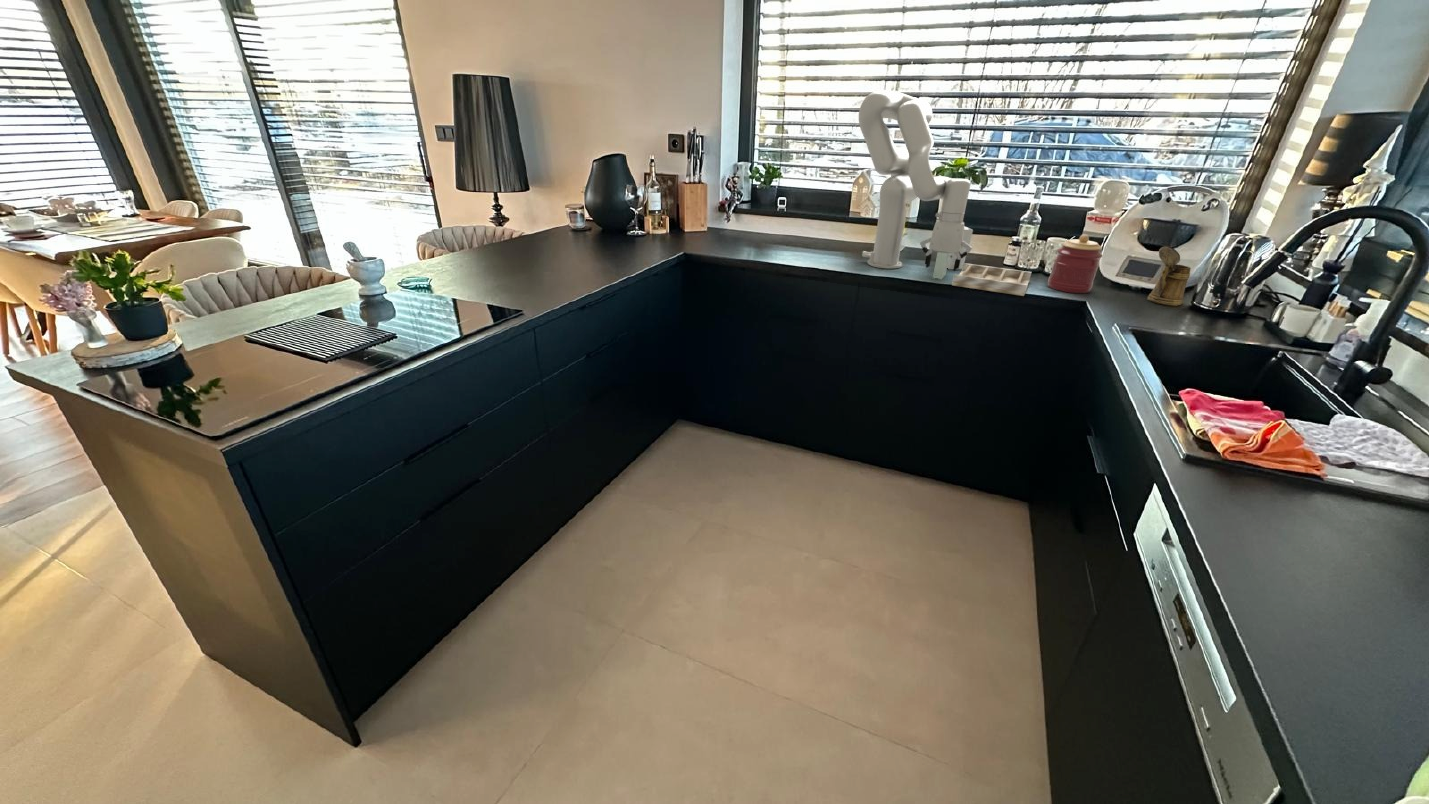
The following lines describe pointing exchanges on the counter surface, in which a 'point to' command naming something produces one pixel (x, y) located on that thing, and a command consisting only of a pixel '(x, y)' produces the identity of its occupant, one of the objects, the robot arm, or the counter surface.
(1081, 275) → the canister
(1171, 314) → the counter surface
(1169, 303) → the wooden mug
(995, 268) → the divided tray
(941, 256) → the grey-green flat block
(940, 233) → the robot arm
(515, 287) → the counter surface
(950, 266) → the skincare box
